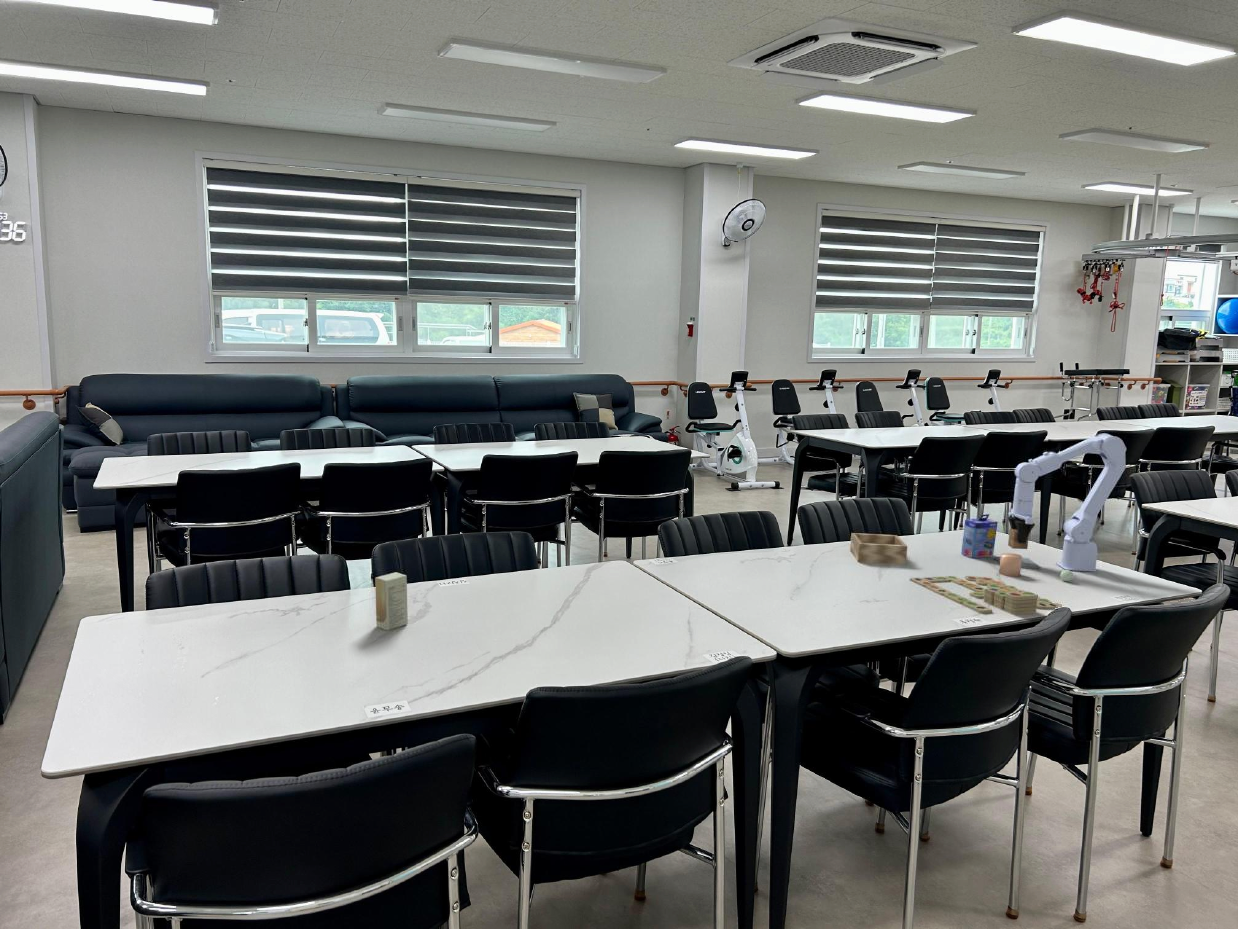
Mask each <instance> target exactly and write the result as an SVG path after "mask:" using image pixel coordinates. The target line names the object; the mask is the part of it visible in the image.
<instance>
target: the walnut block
mask: <svg viewBox="0 0 1238 929" xmlns="http://www.w3.org/2000/svg"><path fill="white" fill-rule="evenodd" d="M1008 532H1009V533H1008V540H1007V541H1008V544H1007V546H1009V547H1010V548H1011V549H1013V550H1014V549H1016V550H1017V549H1018V550H1028V547H1029V536H1028V538H1027V541H1026V543H1018V532H1017V529H1011V528H1009V531H1008Z"/></svg>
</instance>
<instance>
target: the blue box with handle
mask: <svg viewBox="0 0 1238 929" xmlns="http://www.w3.org/2000/svg"><path fill="white" fill-rule="evenodd" d="M989 516H990V513H988V514H981V515H980V516H979V518H968V519H965V520H964V525H963V526H964V528H963V536H962V545H961V552H960V553H961V555H963V556H966V557H968V558H970V559H979V558H987V557H989V558H990V557H992V558H993V557H994V553H995V544H996V536H997V529H998V521H996V520H994V519H990V518H989Z"/></svg>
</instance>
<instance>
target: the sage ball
mask: <svg viewBox="0 0 1238 929" xmlns="http://www.w3.org/2000/svg"><path fill="white" fill-rule="evenodd" d="M1059 577H1060V579H1061V580H1062V581H1064V582H1068V583H1069V582H1071V581H1072V580H1073V578H1074V574H1073V571H1072V570H1065V569H1063V570H1062V571H1061V572H1060V576H1059Z"/></svg>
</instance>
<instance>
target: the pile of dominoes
mask: <svg viewBox="0 0 1238 929" xmlns="http://www.w3.org/2000/svg"><path fill="white" fill-rule="evenodd" d="M909 581H910V582H912V583H914V584H917V585H919V586H921V587H923V588H925V589H927V590H929V591H931V592H933V593H936V594H937V595H939V596H943V597H944V598H946V599H948V600H951V601H952V602H954V603H957V604H959V605H962V607H965V608H968V609H970V610H972V611H974V612H976V613H978V614H982V615H983V614H985V615H987V614H992V613H993V609H992V608H990V607H987V606H985V605H983V604H980V603H978V602H976V601H972V600H971V599H969V598H966V597H964V596H962V595H960V594H958V593H955V592H952V591H950V590H948V589H945V588H943V587H941V586H939V585H936V584H935V583H937V584H938V583H950V582H952V583H954V584H956V585H958V586H962V587H963V588H966V589H968V590H971V591H972V592H970V593H969V596H970V597H972V598H975V599H983V602H984V603H986V604H989V605H991V606H993V607H994V608H997V609H1000V610H1002V611H1004V612H1006V613H1008V614H1010V615H1014V616H1016V615H1017V616H1019V615H1028V614H1037V610H1050V609H1052V610H1053V609H1055V608H1058V607H1062V606H1064V605H1062V604H1061V603H1058V602H1052V601H1051V600H1050V599H1048V598H1041V597H1040V596H1039V595H1038V594H1037V593H1035V592H1032V591H1028V590H1024V589H1018V588H1017V586H1015V585H1008V584H1006V583H1004V581H999V580H998V581H997V580H995V579H994V578H992V577H987V576H978V575H977V576H975V575H965V576H964V579H962V578H960V577H958V576H955V575H946V576H928V577H927V576H924V577H919V576H918V577H909ZM971 582H972V583H971ZM973 582H974V583H973ZM982 586H985V587H982Z"/></svg>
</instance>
